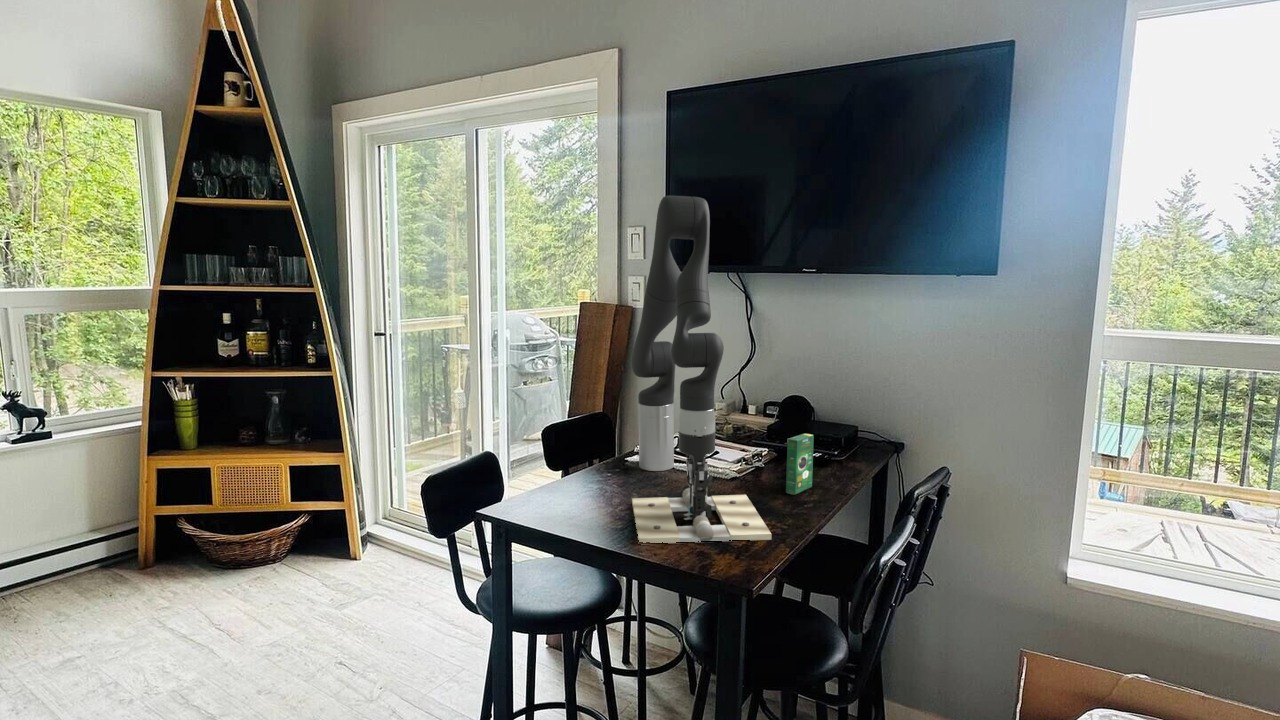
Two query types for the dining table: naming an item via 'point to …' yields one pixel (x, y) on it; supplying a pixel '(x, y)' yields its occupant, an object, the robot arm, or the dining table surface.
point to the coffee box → (799, 463)
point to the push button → (707, 507)
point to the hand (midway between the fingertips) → (696, 508)
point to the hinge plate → (698, 520)
